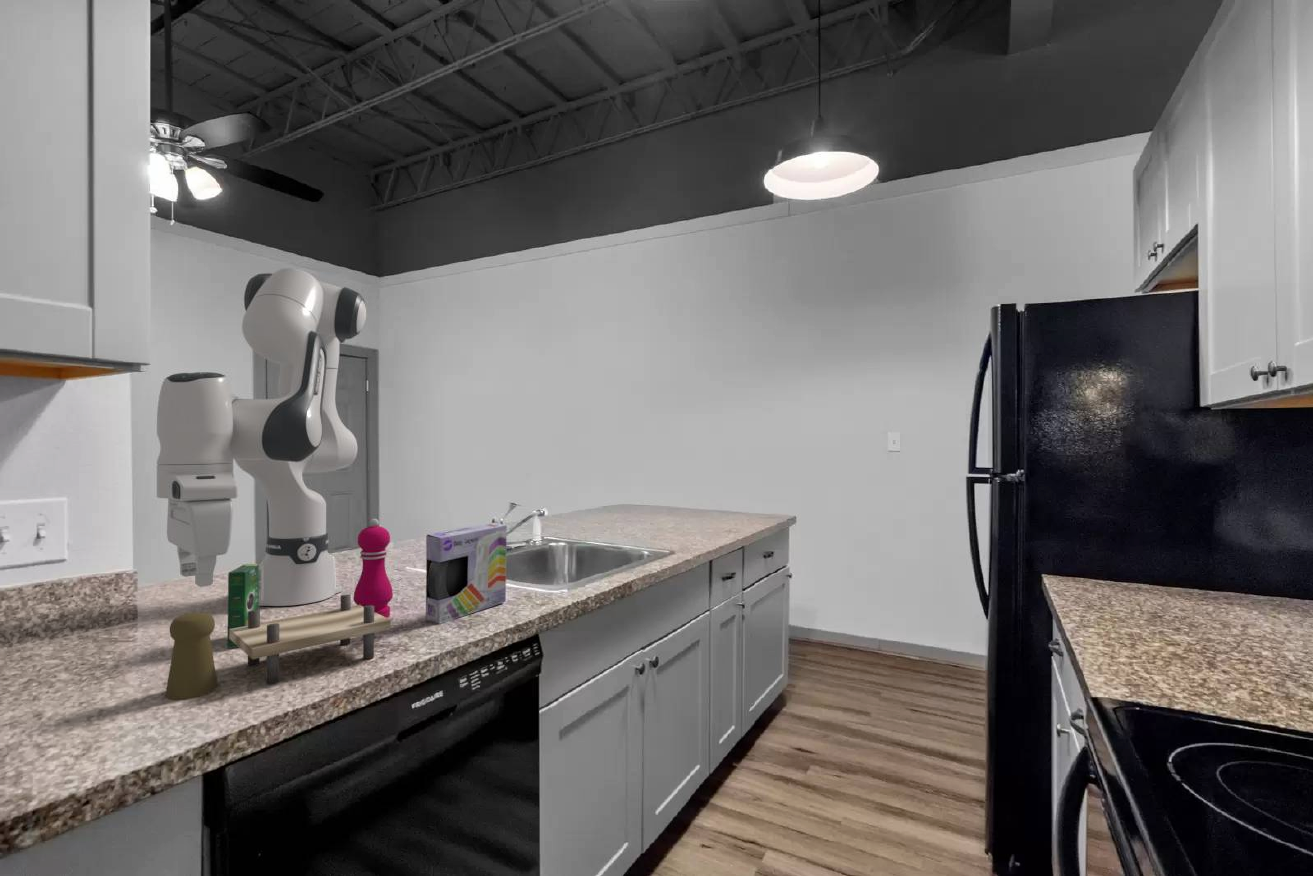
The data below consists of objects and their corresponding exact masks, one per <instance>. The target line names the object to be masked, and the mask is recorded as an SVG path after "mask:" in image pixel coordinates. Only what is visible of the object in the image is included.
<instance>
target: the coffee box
mask: <svg viewBox="0 0 1313 876" xmlns="http://www.w3.org/2000/svg"><path fill="white" fill-rule="evenodd" d="M259 565H260V563H246V564H242V565H241V566H239V567H237V568H235V569H233V570H231V571H229V572H227V636H226V637H227V642H226V647H227V648H228V649H229V648H230V649H231V648H239V647H238V646H237V645H236V644H235V643H234V642H233V641H231V640H230V639H229V629H232V628H238V627H243V626H248V612H249V611H252V610H259V609H260V606H259Z"/></svg>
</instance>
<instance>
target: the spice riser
mask: <svg viewBox="0 0 1313 876" xmlns="http://www.w3.org/2000/svg"><path fill="white" fill-rule="evenodd" d="M351 596H352V595H351V594H346V593H345V594H342V595H340V608H335V609H331V610H324V611H319V612H315V613H309V614H304V615H303V614H302V615H299V616H293V617H292V616H291V617H287V618H286V617H285V618H282V619H276V620H271V621H266V622H265V621H264V622H261V610H252V611H249V612H248V626H243V627H238V628H232V629H229V639H230V640H231V641H233V642H234V643H235V644H236V645H237V646H238V647H237V648H239V649H240V650H241V651H243V652H244V653H245V654H246V656H247V666H248V667H255V665H256V666H258V665H260V663H261V662H260V659H261V658H265V657H266V669H265V670H266V673H265V674H266V675H265V676H266V678H265V679H266V684H267V685H272V684H273V683H274V684H277V683H279V682H280V654H282V653H289V652H293V651H296V650H302V649H306V648H310V647H315V646H320V645H324V644H327V643H328V644H329V643H334V642H337V641H339V645H340V646H347V645H350V644H351V638H356V637H360V636H363V639H362V640H363V641H362V643H363V645H362V647H363V649H362V650H363V652H362V656H363V657H362V659H363V660H367V661H368V660H372V659H374V657H375V633H378V632H383V631H388V630H391V627H392V623H391V621H392V620H391V619H390V618H389V617H388V618H386V617H384V616H382V615H380V614H378V613H375V612H374V606H372V605H370V606H365V607H363V606H361V605H357V604H356V605H353V606H352V605H351V604H352V603H351V602H352V600H351V598H352V597H351ZM276 682H277V683H276Z"/></svg>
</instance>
